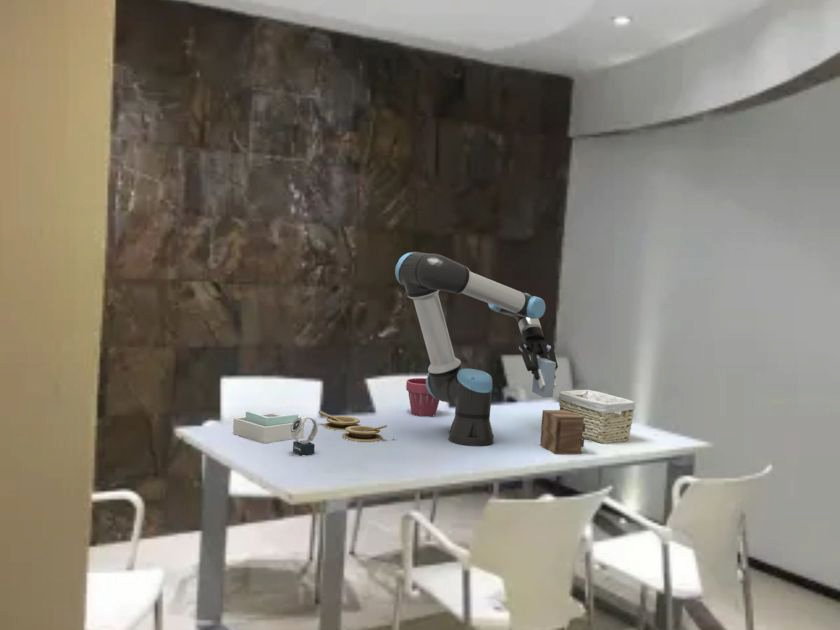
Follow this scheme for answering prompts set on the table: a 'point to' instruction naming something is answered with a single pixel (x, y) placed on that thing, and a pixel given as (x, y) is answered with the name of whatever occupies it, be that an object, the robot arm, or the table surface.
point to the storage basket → (600, 414)
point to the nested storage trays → (263, 430)
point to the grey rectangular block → (545, 378)
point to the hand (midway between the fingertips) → (548, 386)
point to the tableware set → (353, 428)
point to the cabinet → (562, 432)
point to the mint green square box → (269, 419)
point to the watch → (306, 445)
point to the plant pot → (421, 398)
